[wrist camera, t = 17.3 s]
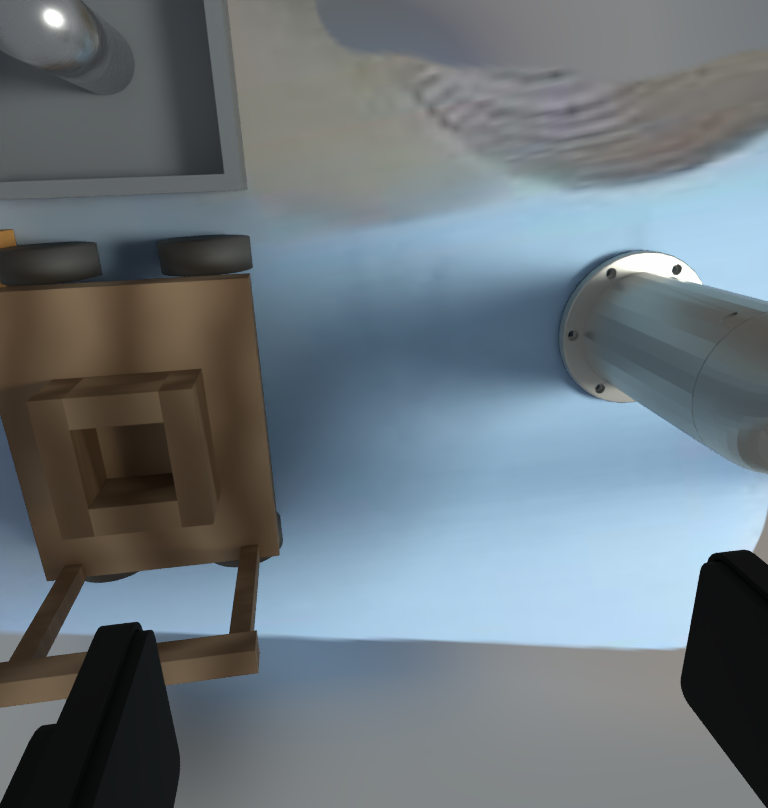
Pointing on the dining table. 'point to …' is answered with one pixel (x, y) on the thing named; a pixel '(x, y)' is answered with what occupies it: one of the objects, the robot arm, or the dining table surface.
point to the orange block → (7, 243)
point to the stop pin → (67, 43)
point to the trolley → (136, 439)
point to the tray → (130, 112)
